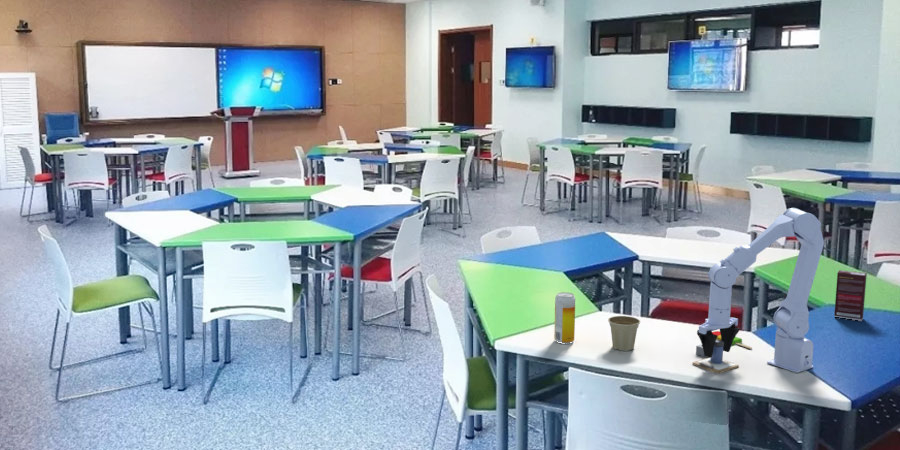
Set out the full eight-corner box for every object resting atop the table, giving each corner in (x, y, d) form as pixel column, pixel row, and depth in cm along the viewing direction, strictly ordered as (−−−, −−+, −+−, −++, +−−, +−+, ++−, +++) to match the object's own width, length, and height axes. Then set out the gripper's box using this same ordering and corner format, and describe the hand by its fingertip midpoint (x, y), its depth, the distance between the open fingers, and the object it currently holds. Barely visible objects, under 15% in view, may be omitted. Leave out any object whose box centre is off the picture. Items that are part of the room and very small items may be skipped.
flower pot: (600, 345, 234) (601, 317, 232) (626, 341, 237) (627, 314, 236) (619, 354, 225) (620, 326, 224) (645, 350, 229) (646, 322, 227)
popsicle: (717, 335, 244) (718, 330, 243) (757, 349, 231) (758, 343, 231) (705, 338, 241) (705, 333, 241) (745, 353, 228) (745, 347, 228)
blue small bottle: (725, 362, 217) (726, 342, 215) (717, 364, 215) (718, 344, 214) (715, 358, 219) (716, 338, 218) (707, 361, 217) (708, 340, 216)
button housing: (718, 355, 225) (718, 347, 224) (708, 357, 222) (708, 350, 222) (705, 350, 228) (706, 343, 228) (695, 353, 226) (696, 345, 226)
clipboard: (738, 367, 215) (738, 363, 215) (717, 373, 210) (718, 369, 210) (713, 358, 222) (713, 354, 222) (692, 364, 217) (692, 360, 217)
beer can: (578, 341, 237) (579, 294, 234) (566, 346, 233) (568, 298, 230) (561, 337, 241) (562, 290, 238) (550, 341, 237) (551, 294, 234)
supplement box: (863, 318, 260) (867, 272, 257) (861, 322, 256) (866, 275, 253) (834, 314, 264) (838, 269, 261) (833, 317, 260) (837, 272, 257)
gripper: (724, 299, 221) (721, 344, 224) (690, 307, 214) (688, 354, 216) (745, 305, 216) (742, 351, 218) (711, 314, 208) (708, 361, 210)
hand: (716, 353), depth 217 cm, fingers open, 7 cm apart
